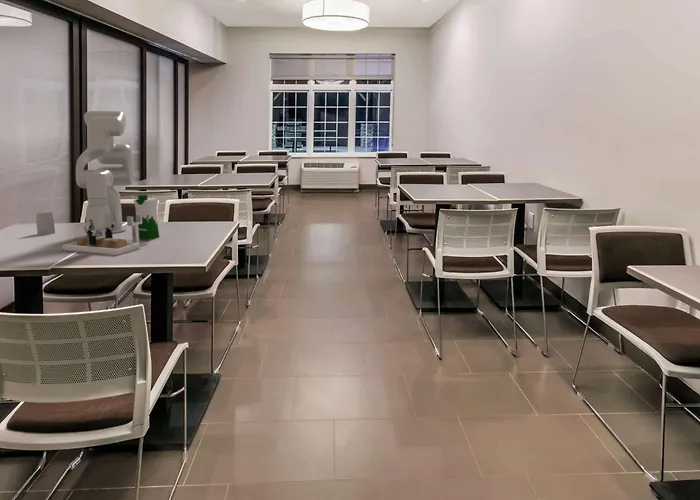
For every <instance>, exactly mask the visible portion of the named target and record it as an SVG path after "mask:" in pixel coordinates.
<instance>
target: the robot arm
mask: <svg viewBox="0 0 700 500" xmlns="http://www.w3.org/2000/svg"><path fill="white" fill-rule="evenodd" d="M83 119H84V120H83V121H84V123H85V124H86V126H87V147H86V148H85V150H84V151H83V152H82V153H81V154H80V156H78V158H77V160H76V164H75V182H76V185H77V186H78V187H79V188H81V189H86V196H87V206H86V213H85V224H84V225H83V227H82V228H83V229H84V233H86V235H87V237H89V245H96V244H97V243H96V237H97V235H96V232H97V231H98V232H99V233H100V234H102V229H105V230H106V231H105V237H106V238H112V239H114V238H113V234H114V233H115V234H116V233H121V232H122V233H123V232H126V231H127V228H126V227H124V226H123V218H122V217H123V216H122V203H121V193H120V192H119V191H118V190H117V189H116V188H115V187H116V186H117V187H120V186H121V187H122V186H125V187H126V186H132V185H133V184H134V182H135V169H134V159H133V158H134V157H133V152H132V148H131V146H130V145H128V144H126V143H115V139H114V138H115V137H122V136H123V135H124V133H125V130H126V125H127V120H126V119H127V118H126V115H125V114H124V112H123V111H119V110H118V111H117V110H89V111H86V112H84V115H83ZM94 160H97V162H98V163H99V164H101V165H103V166H99V167H97V168H96V169H85V167H86V165H87V164H89V163H90V162H92V161H94ZM110 213H111V214H110ZM111 217H112V218H111Z"/></svg>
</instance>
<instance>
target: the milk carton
mask: <svg viewBox="0 0 700 500" xmlns="http://www.w3.org/2000/svg"><path fill="white" fill-rule="evenodd" d="M158 200H159V198H155V197H154V198H153V197H152V198H151V197H148V194H138V195H137V198H136V199H135V198H134V199H133V204H134V207H135V216H136V215H142V224H138V230H139V240H140V239H142V240H153V239H156V237H157V238H160V232H159V225H158V224H159V223H158V221H159V220H158V210H157V209H158Z"/></svg>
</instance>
